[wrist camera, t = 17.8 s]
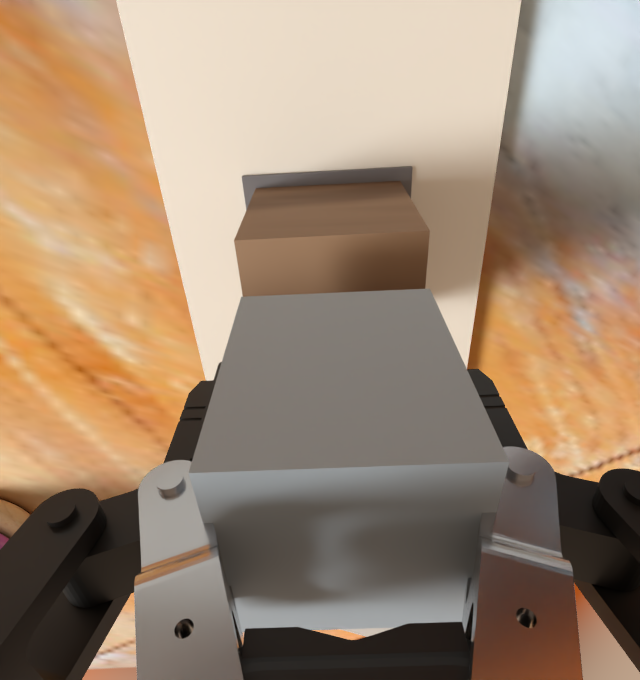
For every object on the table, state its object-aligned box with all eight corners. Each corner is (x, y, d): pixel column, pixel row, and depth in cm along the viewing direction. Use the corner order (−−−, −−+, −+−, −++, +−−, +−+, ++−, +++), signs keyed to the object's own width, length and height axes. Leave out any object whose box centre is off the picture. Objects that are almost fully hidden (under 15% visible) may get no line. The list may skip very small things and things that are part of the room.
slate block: (241, 296, 12) (188, 473, 7) (429, 288, 12) (509, 462, 7) (262, 433, 15) (234, 632, 10) (417, 428, 15) (468, 625, 10)
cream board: (122, -13, 17) (110, -17, 16) (516, -40, 16) (530, -45, 15) (218, 409, 27) (214, 423, 26) (456, 399, 27) (461, 412, 26)
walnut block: (255, 188, 19) (233, 240, 14) (400, 180, 19) (429, 230, 14) (270, 313, 23) (257, 392, 17) (394, 307, 22) (417, 385, 17)
